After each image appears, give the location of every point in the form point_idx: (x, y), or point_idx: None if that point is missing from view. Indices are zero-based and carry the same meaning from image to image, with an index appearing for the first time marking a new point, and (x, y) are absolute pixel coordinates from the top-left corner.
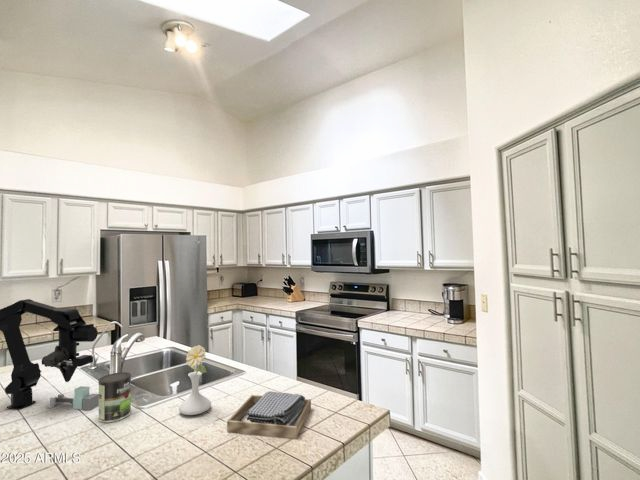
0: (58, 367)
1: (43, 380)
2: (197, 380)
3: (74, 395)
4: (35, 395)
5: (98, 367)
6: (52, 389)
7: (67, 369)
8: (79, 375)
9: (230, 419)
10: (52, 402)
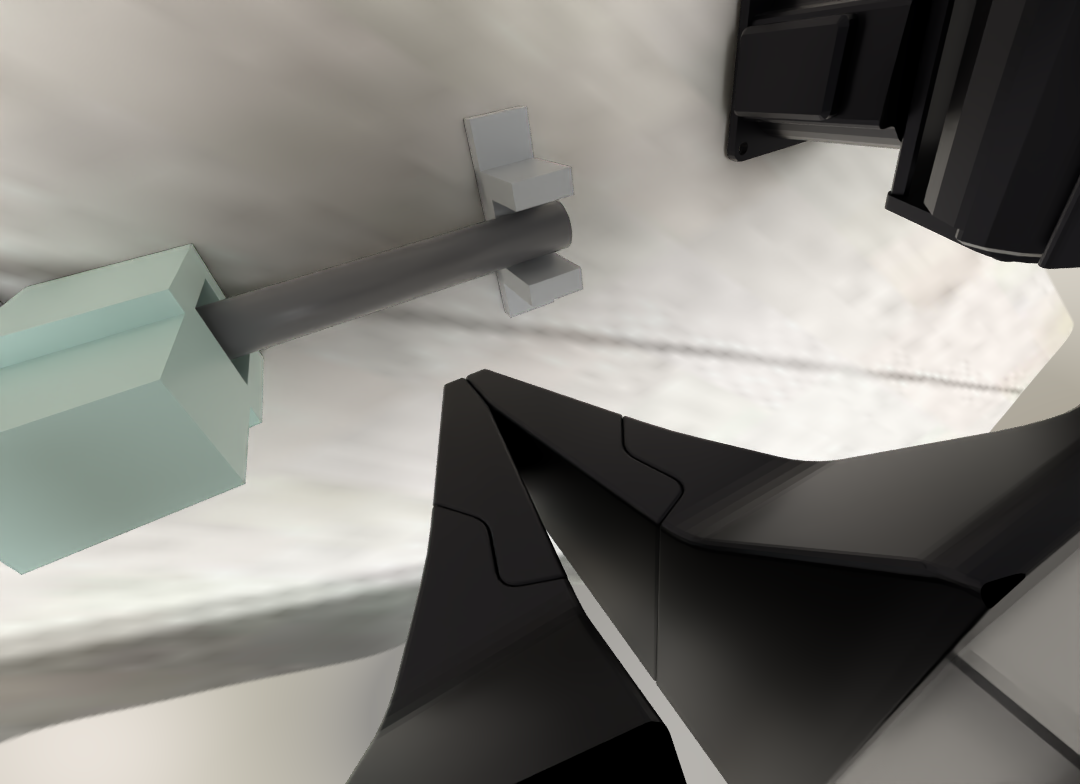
0: (915, 502)
1: (893, 362)
2: None
3: (175, 326)
4: (815, 237)
5: None
6: (780, 341)
7: (439, 694)
8: None
9: None
10: (515, 170)
